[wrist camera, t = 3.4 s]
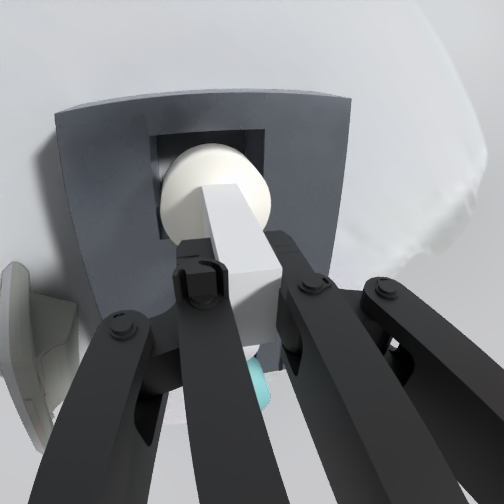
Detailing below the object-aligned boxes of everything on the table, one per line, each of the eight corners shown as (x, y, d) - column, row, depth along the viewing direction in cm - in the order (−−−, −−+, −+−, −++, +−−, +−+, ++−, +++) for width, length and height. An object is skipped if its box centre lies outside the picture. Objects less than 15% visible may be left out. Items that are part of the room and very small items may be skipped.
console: (132, 346, 28) (131, 388, 24) (80, 104, 17) (54, 113, 13) (292, 326, 31) (309, 363, 27) (316, 91, 20) (351, 98, 16)
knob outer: (187, 352, 25) (197, 426, 19) (179, 307, 22) (187, 388, 16) (246, 344, 26) (268, 415, 20) (247, 299, 23) (273, 376, 17)
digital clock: (11, 245, 20) (-45, 337, 11) (104, 284, 24) (84, 390, 15) (5, 359, 26) (-17, 437, 17) (74, 385, 30) (65, 466, 21)
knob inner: (168, 204, 21) (166, 262, 15) (162, 131, 18) (154, 160, 12) (240, 198, 22) (268, 252, 16) (241, 127, 19) (273, 152, 13)
